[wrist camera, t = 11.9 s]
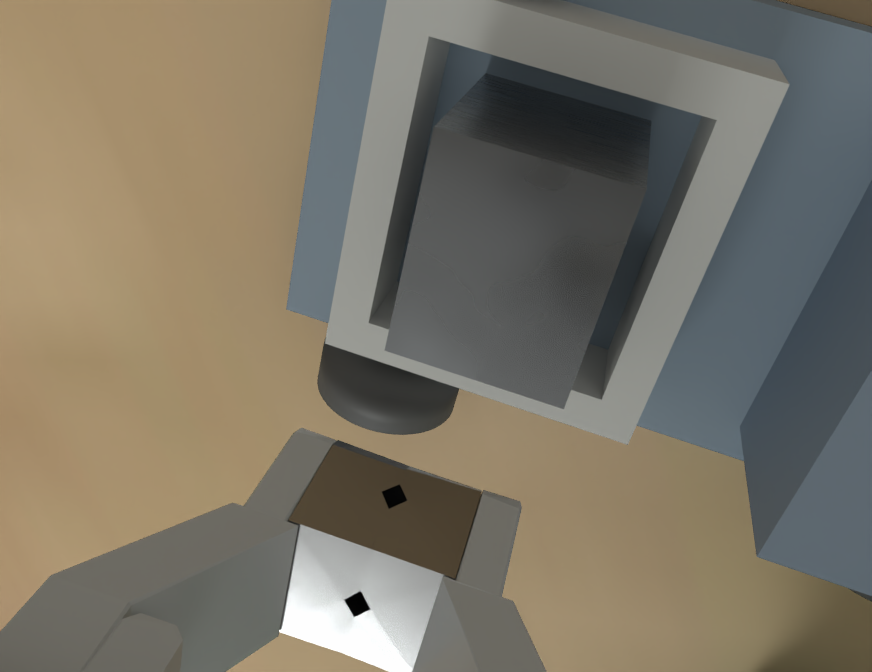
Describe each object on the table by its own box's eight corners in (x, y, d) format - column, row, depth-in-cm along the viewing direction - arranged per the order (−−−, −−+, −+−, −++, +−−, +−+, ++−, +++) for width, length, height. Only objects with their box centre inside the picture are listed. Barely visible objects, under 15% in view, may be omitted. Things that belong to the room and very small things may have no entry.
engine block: (651, 120, 19) (646, 189, 15) (584, 305, 21) (563, 409, 17) (485, 73, 19) (433, 126, 15) (439, 259, 22) (384, 350, 18)
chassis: (1345, 88, 17) (1682, 190, 11) (976, 545, 24) (1070, 746, 18) (378, -171, 19) (256, -193, 13) (300, 320, 26) (199, 439, 20)
